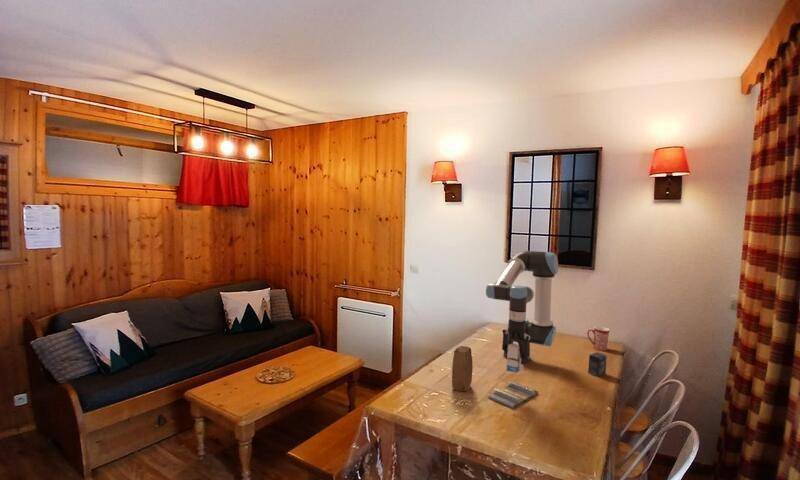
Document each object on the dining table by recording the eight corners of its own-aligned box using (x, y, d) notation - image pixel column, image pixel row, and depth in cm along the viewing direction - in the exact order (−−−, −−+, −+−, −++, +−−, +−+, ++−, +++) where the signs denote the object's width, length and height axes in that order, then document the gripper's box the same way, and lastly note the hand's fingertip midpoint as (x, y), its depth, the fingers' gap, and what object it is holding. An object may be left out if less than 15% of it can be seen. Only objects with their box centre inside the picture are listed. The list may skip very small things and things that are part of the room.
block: (464, 394, 183) (465, 352, 182) (449, 389, 187) (451, 348, 186) (473, 385, 192) (475, 346, 190) (460, 381, 196) (461, 343, 195)
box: (598, 377, 206) (599, 357, 206) (587, 373, 211) (588, 354, 210) (605, 373, 211) (607, 354, 210) (595, 370, 216) (597, 351, 215)
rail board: (488, 397, 180) (488, 391, 179) (513, 384, 194) (514, 378, 194) (513, 408, 170) (513, 402, 170) (538, 393, 185) (538, 387, 185)
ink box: (516, 373, 176) (518, 348, 175) (505, 370, 179) (507, 345, 178) (522, 367, 183) (524, 343, 182) (512, 365, 186) (514, 341, 185)
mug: (607, 347, 253) (609, 327, 252) (608, 352, 245) (610, 331, 244) (586, 344, 259) (587, 324, 258) (586, 348, 250) (587, 328, 249)
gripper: (495, 316, 184) (493, 364, 186) (531, 325, 170) (529, 377, 172) (504, 314, 189) (502, 360, 191) (540, 322, 175) (537, 372, 177)
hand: (514, 368), depth 181 cm, fingers closed on ink box, 6 cm apart
